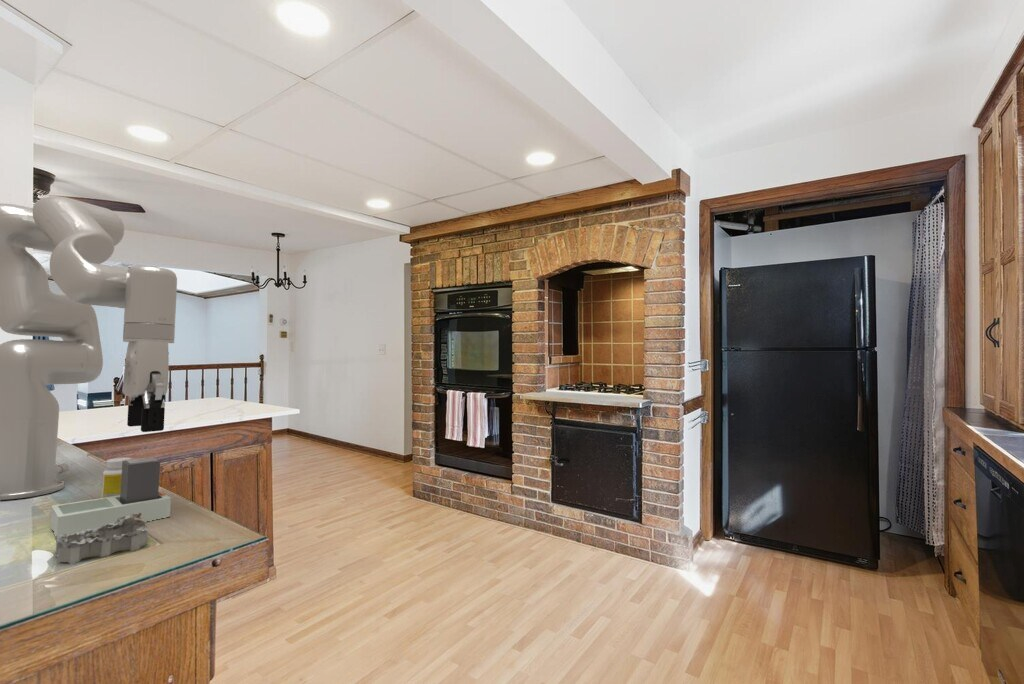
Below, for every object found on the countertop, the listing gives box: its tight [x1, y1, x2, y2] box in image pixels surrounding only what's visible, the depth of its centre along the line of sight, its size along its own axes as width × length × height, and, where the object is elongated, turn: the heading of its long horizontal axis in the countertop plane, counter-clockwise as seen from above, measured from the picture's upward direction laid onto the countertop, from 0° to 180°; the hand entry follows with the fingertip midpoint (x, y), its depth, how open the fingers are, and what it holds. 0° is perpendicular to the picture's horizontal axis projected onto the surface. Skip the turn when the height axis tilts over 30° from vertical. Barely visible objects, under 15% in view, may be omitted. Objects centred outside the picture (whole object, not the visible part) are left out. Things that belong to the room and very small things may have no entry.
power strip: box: [49, 489, 172, 536], centre depth 84 cm, size 15×8×4 cm, turn 140°
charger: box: [120, 456, 161, 505], centre depth 87 cm, size 5×5×8 cm
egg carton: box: [54, 513, 150, 564], centre depth 72 cm, size 11×8×4 cm
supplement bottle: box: [100, 457, 133, 498], centre depth 94 cm, size 5×5×8 cm
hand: (145, 428), depth 87 cm, fingers open, 9 cm apart
